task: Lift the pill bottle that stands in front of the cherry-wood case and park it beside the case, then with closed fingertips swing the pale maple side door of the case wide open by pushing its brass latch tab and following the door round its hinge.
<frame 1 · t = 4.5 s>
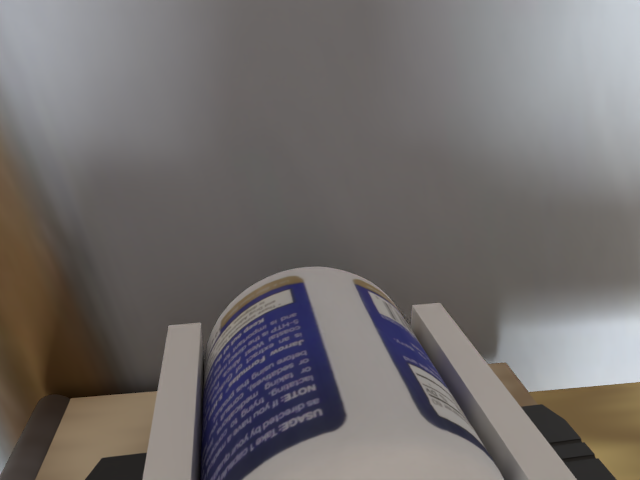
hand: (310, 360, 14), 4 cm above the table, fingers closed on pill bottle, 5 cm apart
pill bottle: (307, 348, 14), point 3 cm above the table, touching gripper
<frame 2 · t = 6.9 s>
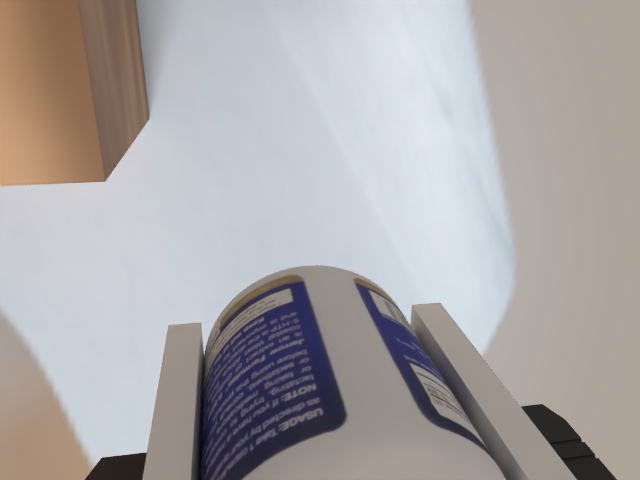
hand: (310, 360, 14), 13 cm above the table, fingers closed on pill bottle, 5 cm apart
pill bottle: (307, 347, 14), point 13 cm above the table, touching gripper
when the fingers open (1 cm above the table, at t = 9.3 s): pill bottle stays where it is, on the table.
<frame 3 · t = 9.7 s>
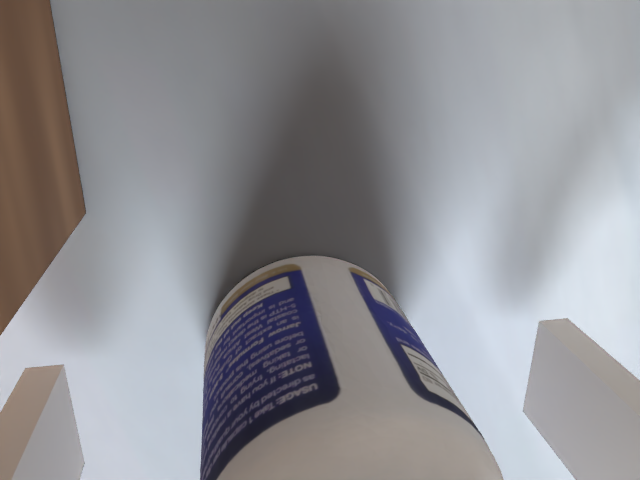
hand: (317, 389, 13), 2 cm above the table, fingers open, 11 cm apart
pill bottle: (305, 336, 15), on the table
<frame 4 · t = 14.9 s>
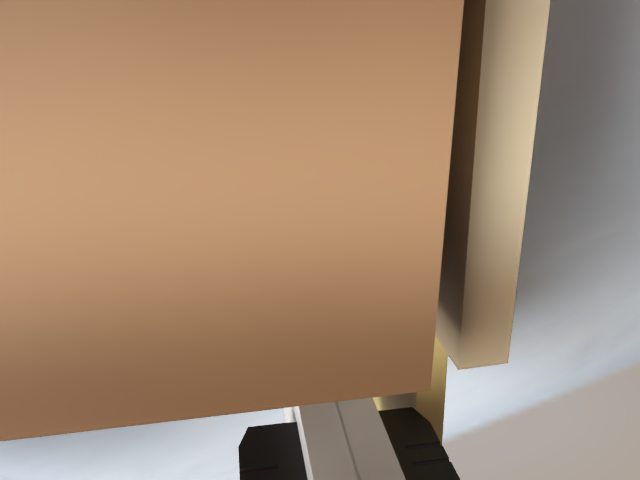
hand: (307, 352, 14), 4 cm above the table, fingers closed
door: (404, 9, 10), point 5 cm above the table, hinge at 1.7°, touching gripper
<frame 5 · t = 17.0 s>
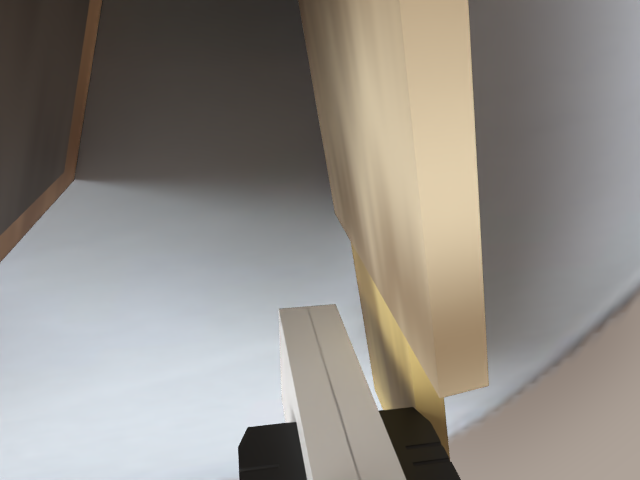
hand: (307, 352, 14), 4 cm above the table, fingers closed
door: (356, 39, 10), point 5 cm above the table, hinge at 27.3°, touching gripper
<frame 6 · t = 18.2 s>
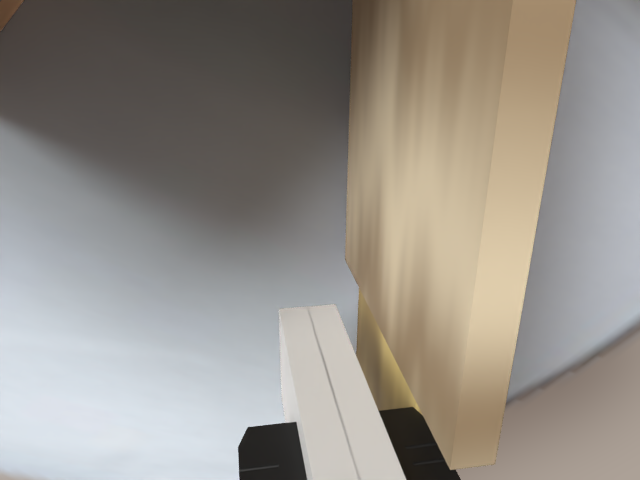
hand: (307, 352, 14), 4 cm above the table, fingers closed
door: (413, 119, 11), point 5 cm above the table, hinge at 43.7°, touching gripper
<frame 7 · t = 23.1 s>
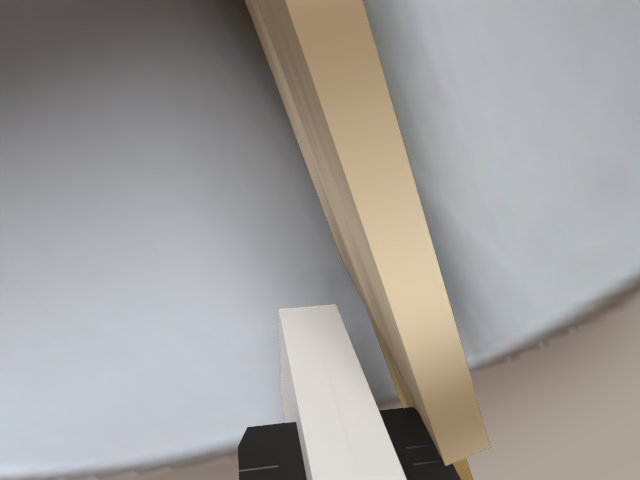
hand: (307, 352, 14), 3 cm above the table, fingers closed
door: (322, 119, 11), point 5 cm above the table, hinge at 92.7°, touching gripper
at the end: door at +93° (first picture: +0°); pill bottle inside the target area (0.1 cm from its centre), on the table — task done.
